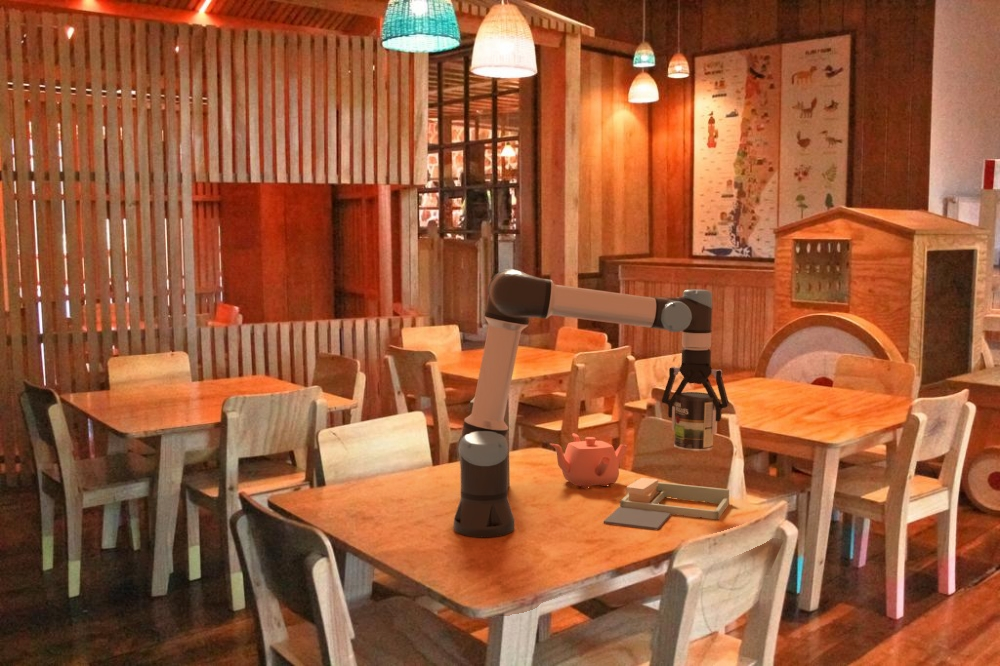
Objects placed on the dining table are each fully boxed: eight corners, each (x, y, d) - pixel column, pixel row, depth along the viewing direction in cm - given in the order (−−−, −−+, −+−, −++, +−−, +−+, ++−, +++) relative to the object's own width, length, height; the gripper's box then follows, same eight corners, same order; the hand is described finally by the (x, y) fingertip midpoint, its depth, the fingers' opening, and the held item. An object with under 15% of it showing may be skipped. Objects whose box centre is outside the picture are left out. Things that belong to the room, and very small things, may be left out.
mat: (657, 530, 236) (657, 527, 236) (603, 523, 242) (603, 521, 242) (670, 515, 249) (670, 512, 249) (619, 509, 255) (619, 506, 255)
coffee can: (685, 452, 247) (687, 399, 246) (667, 444, 257) (668, 392, 256) (721, 450, 250) (722, 397, 249) (701, 442, 260) (702, 391, 259)
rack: (717, 519, 245) (718, 499, 245) (620, 508, 256) (620, 489, 255) (729, 503, 260) (729, 485, 259) (636, 493, 270) (636, 475, 270)
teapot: (548, 487, 277) (549, 440, 276) (572, 473, 293) (572, 429, 292) (608, 495, 269) (608, 446, 268) (629, 480, 285) (629, 434, 284)
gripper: (742, 349, 250) (739, 432, 252) (657, 344, 259) (655, 425, 261) (737, 352, 243) (734, 437, 245) (650, 347, 252) (648, 430, 254)
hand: (694, 431), depth 253 cm, fingers closed on coffee can, 10 cm apart
